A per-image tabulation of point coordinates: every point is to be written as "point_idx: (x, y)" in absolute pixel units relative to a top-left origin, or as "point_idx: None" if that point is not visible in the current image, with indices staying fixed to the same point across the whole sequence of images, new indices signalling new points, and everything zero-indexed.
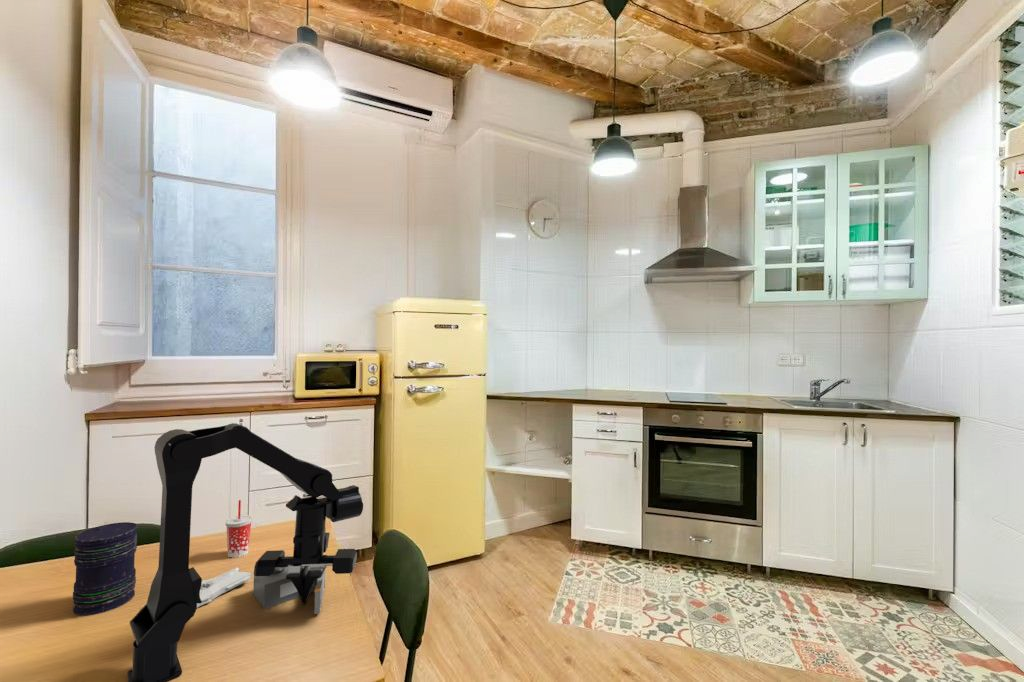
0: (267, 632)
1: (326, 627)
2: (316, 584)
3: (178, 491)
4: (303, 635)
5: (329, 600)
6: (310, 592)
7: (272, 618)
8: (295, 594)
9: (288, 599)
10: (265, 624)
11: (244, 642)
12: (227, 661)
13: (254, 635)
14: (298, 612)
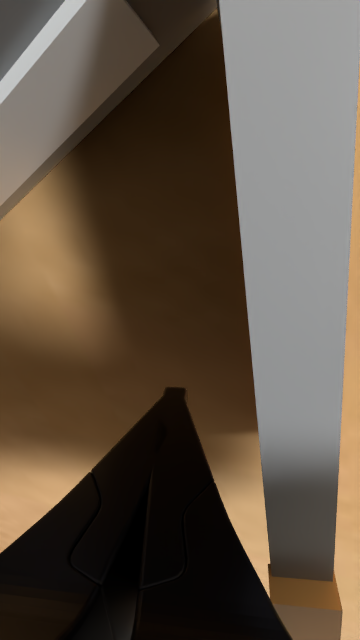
0: (68, 479)
1: (342, 518)
2: (181, 7)
3: None
4: (237, 533)
5: (350, 262)
6: (142, 78)
7: (28, 390)
8: (29, 180)
9: (6, 212)
10: (24, 428)
11: (15, 506)
12: None
13: (26, 482)
14: (149, 368)
